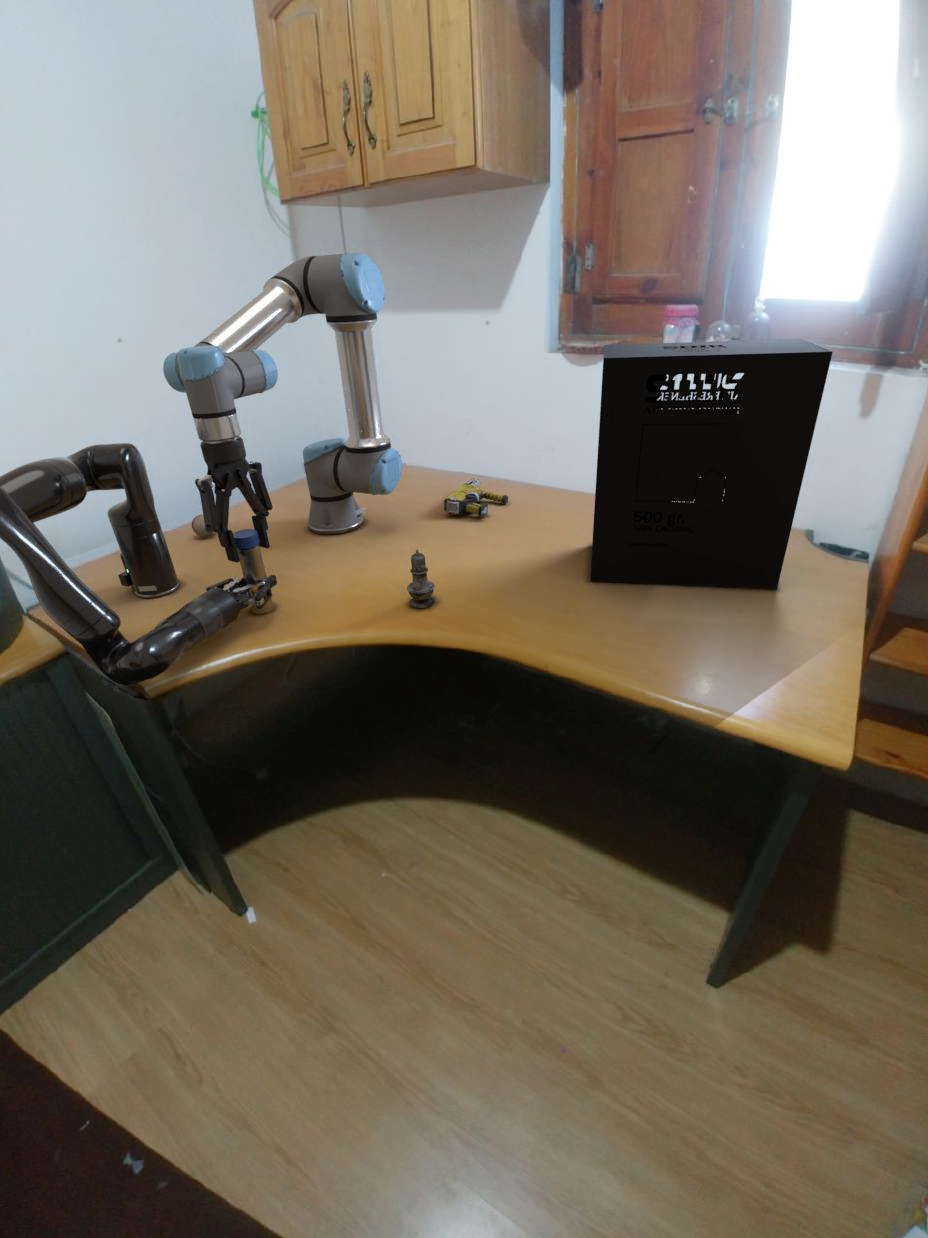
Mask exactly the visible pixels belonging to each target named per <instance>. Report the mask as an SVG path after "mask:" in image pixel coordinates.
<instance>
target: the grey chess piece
mask: <svg viewBox="0 0 928 1238" xmlns="http://www.w3.org/2000/svg"><path fill="white" fill-rule="evenodd" d="M410 563H411V569H410V573H411V576H412V581H411V582H410V583H408V584H407V586H406V591H407V592H408V594H409V596H410V597H411V599H410V600H409V605H410V606H411V607H413V608H415V609H424V608H429V607H431V606H433V605H434V604H435V602H436V600H435V598H434V597H433V593H434V591H435V587H436V585H435V583H434V582H433V581H431V580H429V579H428V571H429V568H428V567H427V565H426V556H425V554H424V553H421V552H419V550H418V549H416V550H415V553H413V554H411V556H410Z"/></svg>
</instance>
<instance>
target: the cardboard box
mask: <svg viewBox="0 0 928 1238" xmlns="http://www.w3.org/2000/svg"><path fill="white" fill-rule="evenodd" d="M833 353H834V352H833V350H830V349H827V348H826V347H825V348H824V347H822V346H821V345H818V344H815V343H813V342H810V341H808V340H805V339H802V338H783V339H782V338H781V339H779V338H777V339H776V338H775V339H749V340H747V339H746V340H723V341H722V340H720V341H719V340H718V341H689V342H687V341H685V342H683V341H682V342H657V343H654V342H653V343H627V344H625V343H624V344H623V343H621V344H604V345H603V359H602V362H603V363H602V375H601V389H600V390H601V392H600V409H599V424H598V425H599V426H598V427H599V428H598V442H597V457H596V458H597V459H596V460H597V461H596V475H595V493H594V496H595V497H594V508H593V509H594V510H593V525H592V527H593V528H592V541H591V557H590V558H591V560H590V575H589V576H590V577H589V580H590V582H603V583H622V584H623V583H625V584H626V583H628V584H645V585H647V584H648V585H669V586H670V585H671V586H693V587H712V588H714V587H715V588H734V589H735V588H737V589H755V590H757V589H758V590H759V589H760V590H778V586H779V582H780V577H781V574H782V570H783V565H784V561H785V556H786V553H787V548H788V543H789V539H790V536H791V531H792V526H793V522H794V519H795V513H796V510H797V505H798V501H799V497H800V493H801V489H802V484H803V480H804V476H805V471H806V467H807V464H808V463H807V462H808V458H809V455H810V450H811V446H812V442H813V437H814V434H815V430H816V425H817V421H818V417H819V411H820V407H821V404H822V400H823V399H822V398H823V394H824V390H825V386H826V381H827V378H828V374H829V369H830V366H831V360H832V356H833ZM738 374H742V376H741V377H740V378H735V376H736V375H738ZM678 375H681V379H680V380H679V384H678V388H675V385H676V379H675V377H676V376H678ZM689 375H693V380H692V381H691V379H688V376H689ZM702 375H704V379H702ZM719 378H720V382H719ZM724 378H725V382H724ZM723 382H724V385H730V384H731V385H734V388H725V387H724V386H723ZM691 383H692V385H695V388H691ZM705 385H710V388H704V386H705ZM662 387H666V389H662Z"/></svg>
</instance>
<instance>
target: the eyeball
mask: <svg viewBox="0 0 928 1238" xmlns="http://www.w3.org/2000/svg"><path fill="white" fill-rule="evenodd" d="M191 529H192V531H193V532H194V533H195V534H196V535H197V536H199V537H205V538H206V537H209V536H211V535H212V534H213V533H214V532H212V531H208V530H206V528H205V522H204V516H203V514H198V515H196V516H195V517H194V518H193V519H192V521H191Z"/></svg>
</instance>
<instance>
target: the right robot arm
mask: <svg viewBox="0 0 928 1238" xmlns="http://www.w3.org/2000/svg"><path fill="white" fill-rule="evenodd" d="M385 299H386V288H385V283H384V279H383V276H382V273H381V271H380V269H379V267H378V266H377V265H376V263H375V261H374V260H373V259H372V258H371V257H370V256H369V255H367V254H364V253H362V252H361V253H359V252H358V253H357V252H345V253H344V252H343V253H336V254H324V255H309V256H306V257H303V258H300V259H297V260H295V261H293V262H292V263H290V264H289V265H287V266H285V267H284V268H283V269H281V270H280V271H278V272H277V273H275V274H274V275H273V276H272V277H270V278H269V279H268V280H267V281H266V282H265V283H264V284H263V287H262V291H261V292H260V293H259V294H258V295H256V296H255V297H254V298H253V299H251V300H250V301H249V302H248V303H247V304H246V305H243V307H242V308H240V309H239V310H238V311H237V312H235V313H234V314H232V315H231V316H230V317H229V318H228V319H226V320H225V321H224V322H223V323H221V324H220V325H219V326H218V327H216V328H215V329H214V330H212V331H211V332H210V333H209V334H208V335H206V336H205V337H204V338H203V339H202V340H200V341H198V343H196V344H195V345H193V346H189V347H184V348H181V349H179V350H178V351H177V352H172V353H169V354H168V355H167V356H166V357H165V359H164V361H163V366H162V372H163V376H164V378H165V380H166V382H167V384H168V385H169V386H170V387H171V388H172V389H173V390H175V391H177V392H178V393H185V394H186V397H187V398H186V399H187V401H188V404H189V409H190V412H191V415H192V419H193V423H194V426H195V431H196V434H197V438H198V440H200V441H201V442H200V444H199V446H200V449H201V453H202V457H203V461H204V463H205V464H206V466H207V467H206V468H207V472H206V475H205V476H204V477H202V478H196V479H195V480H194V484H195V487H196V488H197V490H198V492H199V498H200V503H201V510H202V515H203V516H204V522H205V528H206V530H208V531H212V532H213V533H216V534H217V537H218V540H219V544H220V545H219V546H221V547H222V548H224V551H225V554H226V558H227V561H229V562H233V563H236V564H238V563H240V559H239V555H238V551H237V547H236V544H235V540H234V536H233V533H234V532H233V530H232V529H229V518H230V517H229V516H230V515H229V514H230V500H231V499H230V498H231V496H232V494H233V490H235V489H238V490H239V491H240V493H241V495H242V496H243V498H244V499H245V501H246V502H247V504H248V506H249V507H250V509H251V511H252V512H253V514H254V515H252V516H251V521H252V524H253V529H254V530H256V531H257V533H258V536H259V540H260V543H259V546H260V548H263V549H269V548H271V545H270V541H269V537H268V532H267V531H268V530H269V525H268V519H267V517H269V515H270V512H269V511H272V510H273V509H274V508H273V504H272V500H271V497H270V494H269V491H268V489H267V486H266V481H265V479H264V476H263V466H262V463H261V462H260V461H259V462H258V461H253V460H250V461H248V460H247V459H246V457H247V452H246V447H245V443H244V439H243V438H242V437H241V435H242V429H241V424H240V421H239V417H238V413H237V407H236V403H235V400H238V399H240V398H245V397H249V396H253V395H256V394H263V393H265V392H267V391H269V390H271V389H273V388H274V387H275V386H276V385H277V382H278V378H279V373H278V367H277V363H276V362H275V360H274V358H273V357H272V356H271V355H270V354H269V353H268V352H267V351H265V350H263V349H258V348H260V347H261V346H262V345H264V344H265V342H266V341H268V340H269V339H270V338H271V337H272V336H273V335H275V334H277V332H278V331H279V330H280V329H282V328H283V327H284V326H285V325H286V324H293V323H296V322H297V321H299V320H300V318H302V317H306V316H310V315H311V316H312V315H325V321H326V324H327V325H328V326H329V327H330V328H331V329H332V330H333V331H334V336H335V337H334V338H335V344H336V350H337V351H336V353H337V358H338V366H339V372H340V379H341V387H342V393H343V400H344V409H345V415H346V422H347V423H346V424H347V430H348V437H347V439H346V440H345V439H344V438H341V437H340V438H339V437H337V438H330V439H324V440H320V441H317V442H313V443H309V444H308V445H306V446H305V447H304V448H303V450H302V457H303V458H302V460H303V467H304V473H305V477H306V482H307V487H308V492H309V498H310V507H309V513H308V523H307V524H308V528H309V529H308V530H310V531H311V532H312V533H314V534H317V535H323V536H324V535H325V536H327V535H329V536H331V535H339V534H340V535H341V534H345V533H350V532H353V531H355V530H357V529H359V528H361V527H362V526H363V525H364V523H365V519H364V514H363V513H365V511H366V508H365V506H362V507H361V508H360V505H359V504H358V501H357V500H356V498H355V495H354V493H357V494H364V495H365V494H366V495H372V496H377V495H378V496H379V495H380V496H385V495H386V496H387V495H389V494H391V493H392V492H393V491H394V490H395V489H396V488H397V486H398V485H399V482H400V480H401V476H402V471H403V460H402V456H401V454H400V452H399V451H398V450H396V449H395V448H392V443H391V438H390V437H389V436H387V435H386V434H385V432H384V426H383V417H382V408H381V398H380V392H379V382H378V380H379V379H378V373H377V363H376V354H375V347H374V346H375V345H374V338H373V337H374V336H373V327H374V326H375V324H376V323H377V322H378V316H377V315H378V314H377V313H379V311H380V312H381V310H382V309H383V308H384V307H383V306H384V304H385V302H384V301H385ZM248 476H249V477H248ZM249 479H250V480H249ZM213 484H214V485H213ZM213 488H214V491H213Z"/></svg>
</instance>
